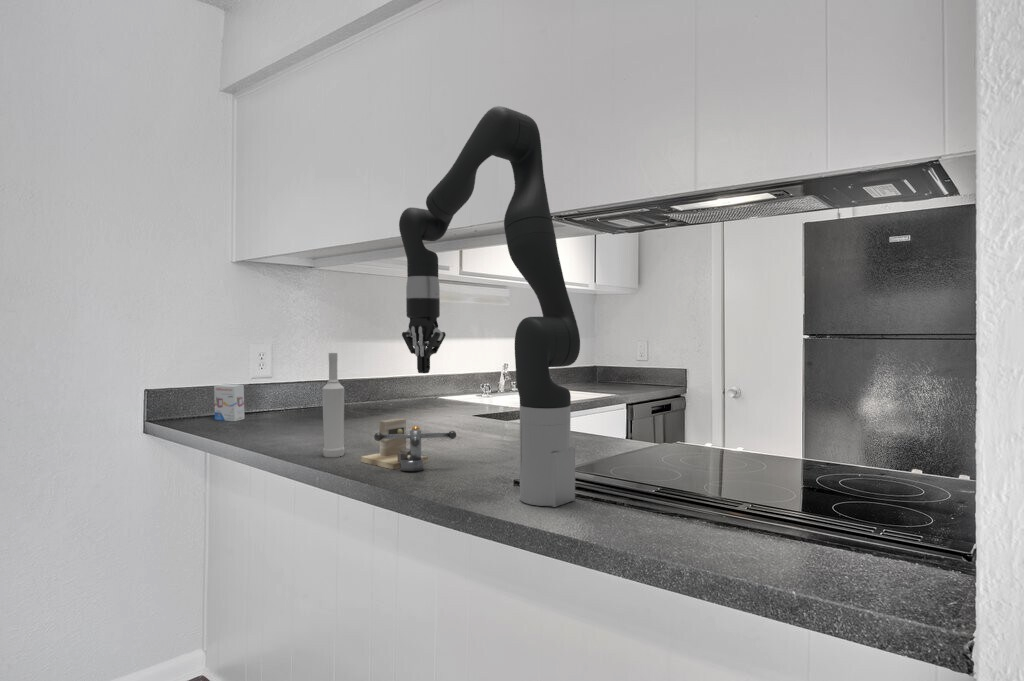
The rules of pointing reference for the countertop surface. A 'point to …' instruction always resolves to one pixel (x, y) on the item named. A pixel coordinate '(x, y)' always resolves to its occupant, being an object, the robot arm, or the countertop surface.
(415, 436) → the grey cross handle
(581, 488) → the countertop surface
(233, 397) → the ink box
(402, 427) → the stand
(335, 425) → the bottle
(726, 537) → the countertop surface
